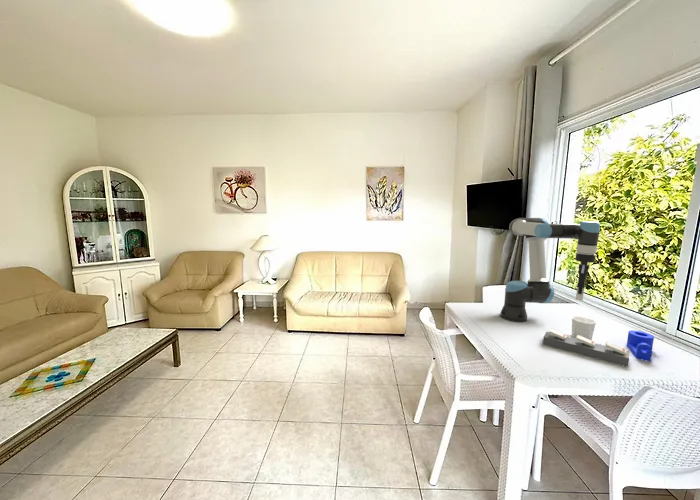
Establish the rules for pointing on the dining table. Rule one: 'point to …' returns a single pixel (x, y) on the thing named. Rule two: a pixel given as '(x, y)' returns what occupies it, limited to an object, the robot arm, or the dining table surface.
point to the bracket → (640, 344)
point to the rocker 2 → (585, 340)
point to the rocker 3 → (615, 348)
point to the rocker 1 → (558, 334)
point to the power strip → (586, 349)
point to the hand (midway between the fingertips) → (579, 299)
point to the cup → (583, 327)
